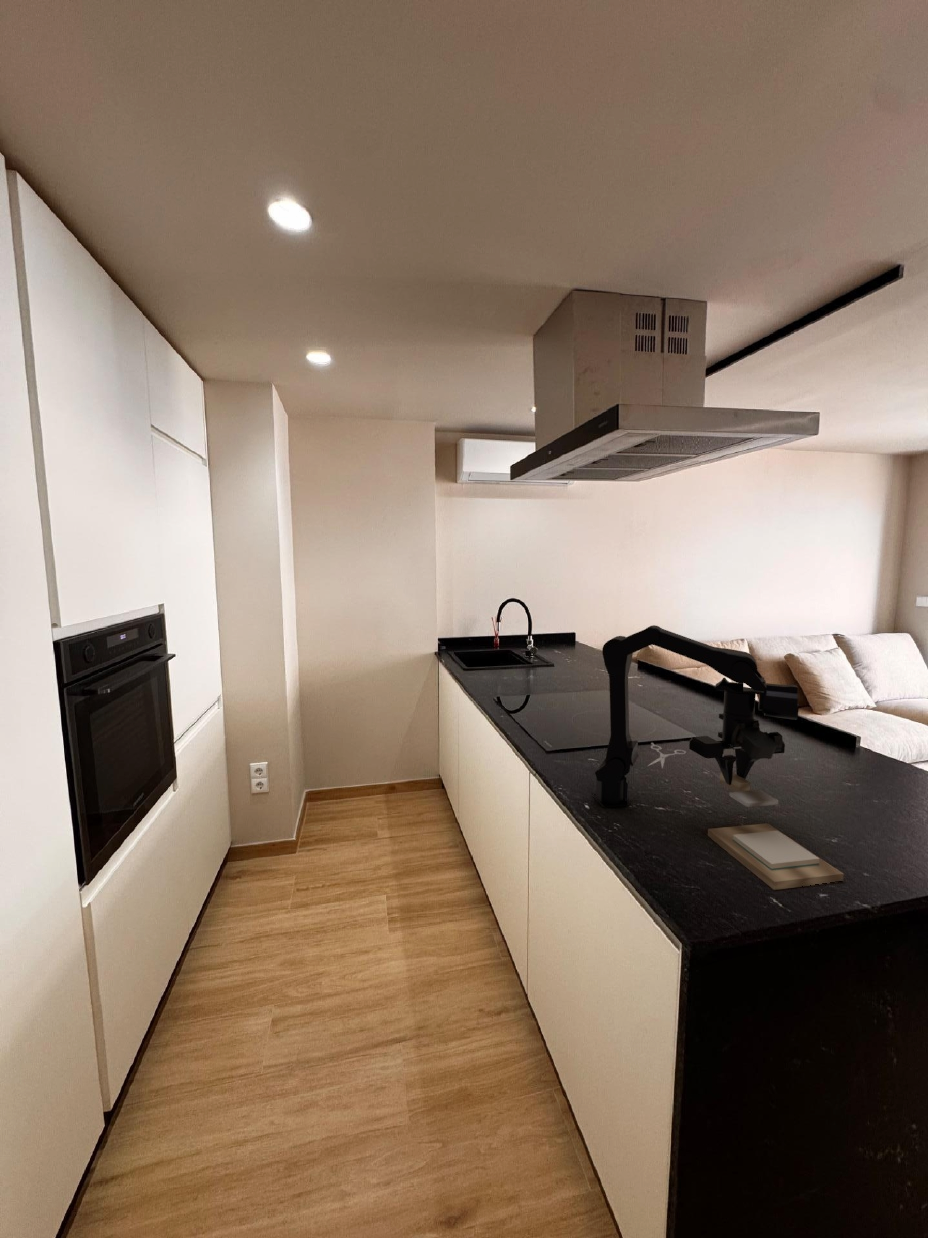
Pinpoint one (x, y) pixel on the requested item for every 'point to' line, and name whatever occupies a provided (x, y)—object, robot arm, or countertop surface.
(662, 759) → the scissors
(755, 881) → the countertop surface
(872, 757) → the countertop surface
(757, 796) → the turner
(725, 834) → the oak board
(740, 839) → the tile
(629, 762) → the robot arm
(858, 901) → the countertop surface
